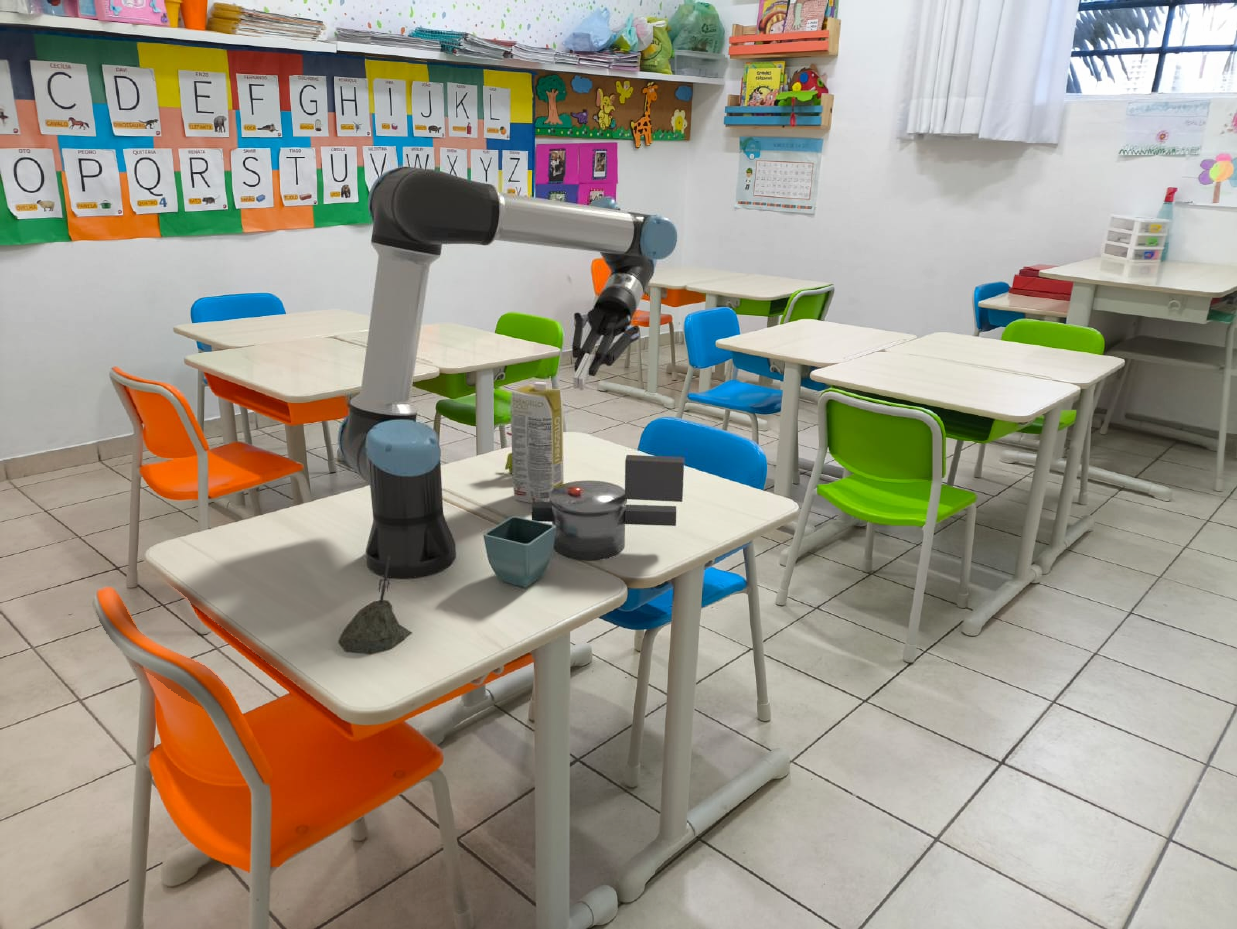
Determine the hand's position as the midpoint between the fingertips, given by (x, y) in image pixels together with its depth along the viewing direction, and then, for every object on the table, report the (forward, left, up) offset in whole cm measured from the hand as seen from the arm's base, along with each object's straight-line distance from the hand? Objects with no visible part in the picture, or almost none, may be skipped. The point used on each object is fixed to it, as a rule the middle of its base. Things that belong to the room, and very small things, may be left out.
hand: (578, 383), depth 153 cm
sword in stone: (-26, -40, -29) cm, 56 cm away
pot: (+5, -6, -28) cm, 29 cm away
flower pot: (-8, -20, -29) cm, 36 cm away
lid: (+7, -6, -19) cm, 22 cm away
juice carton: (-10, +15, -28) cm, 34 cm away
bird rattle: (-15, +29, -29) cm, 43 cm away
